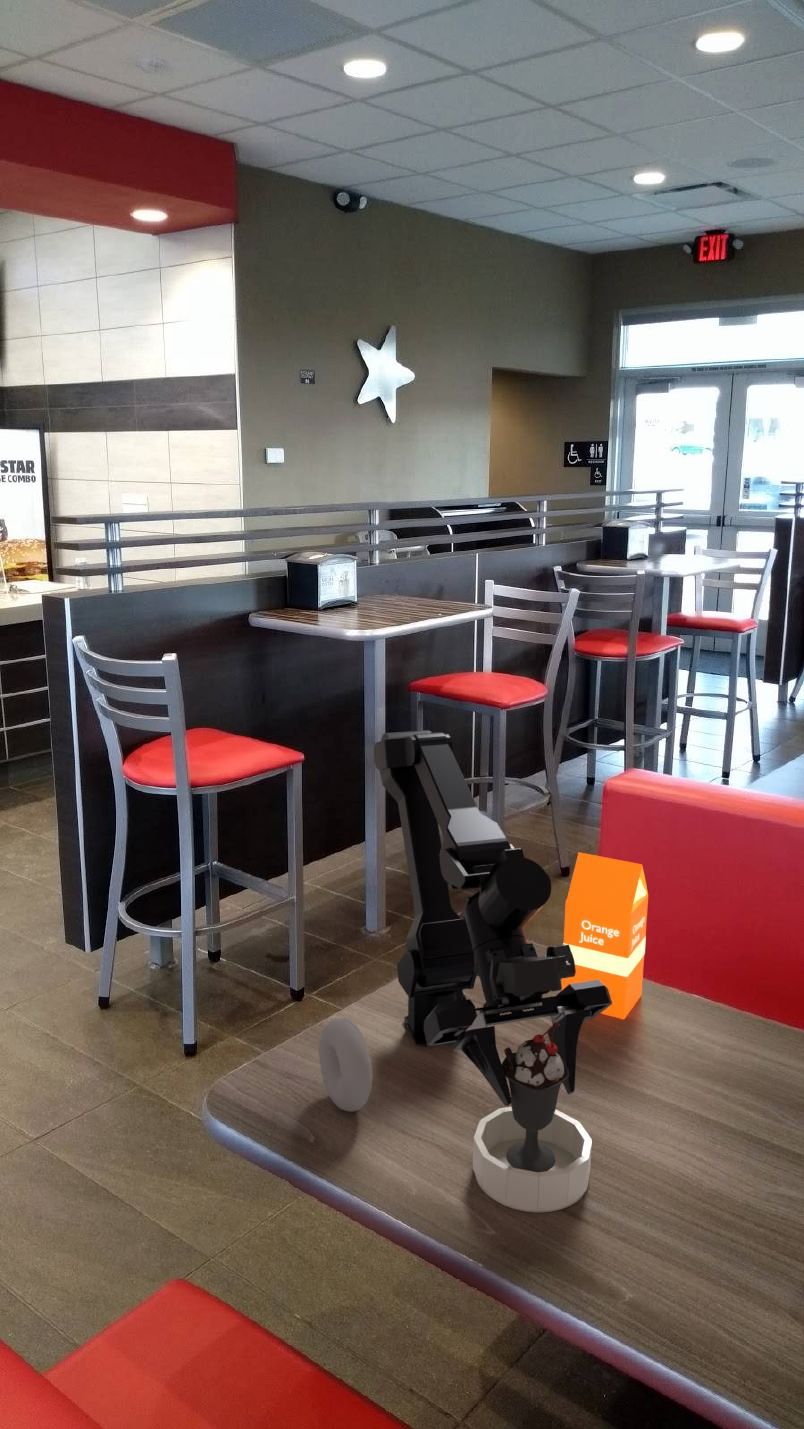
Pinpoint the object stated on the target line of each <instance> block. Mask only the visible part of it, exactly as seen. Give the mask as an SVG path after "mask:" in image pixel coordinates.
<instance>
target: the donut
mask: <svg viewBox="0 0 804 1429" xmlns="http://www.w3.org/2000/svg"><path fill="white" fill-rule="evenodd" d="M318 1045H319V1047H318V1054H319V1055H318V1056H319V1065H320V1071H321V1076H322V1081H323V1083H324V1087H325V1090H326V1092H327V1093H328V1095H329V1097H330V1099H331V1100H332V1102H333V1103H334V1105H336V1106H337V1107H338V1108H339V1109H340V1110H343V1111H346V1112H351V1113H352V1112H356V1111H359V1110H360V1109H361V1108H362V1107H363V1106H364V1105H366V1103H367V1102H368V1100H369V1098H370V1094H371V1092H372V1083H373V1070H372V1062H371V1056H370V1053H369V1052H370V1051H369V1049H368V1045H367V1043H366V1040H365V1038H364V1035H363V1034H362V1032H361V1030H360V1029H359V1027H358V1026H357V1025H356V1024H355V1023H353V1022H352V1021H351V1019H348V1018H344V1017H342V1018H341V1017H340V1018H339V1017H338V1018H333V1019H331V1020H330V1021H328V1022H327V1024H326V1025H325V1026H324V1027H323V1029H322V1030H321V1035H320V1039H319V1044H318Z"/></svg>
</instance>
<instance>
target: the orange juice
mask: <svg viewBox="0 0 804 1429" xmlns="http://www.w3.org/2000/svg"><path fill="white" fill-rule="evenodd" d="M577 853H578V854H577V857H576V862H575V865H574V870H573V873H572V877H571V882H570V886H569V889H568V894H567V897H566V900H565V907H564V908H565V909H564V910H565V912H564V928H563V929H564V931H563V943H562V945H564V944H566V945H569V946H570V949H571V952H572V955H573V958H574V961H575V968H576V974H575V976H574V977H569V978H562V979H561V985H562V990H563V989H564V988H565V987H566V986H568V985H569V984H573V983H579V982H586V981H592V980H600V981H601V982H602V983H603V984H604V985H605V986H606V987H607V988H608V990H609V994H610V997H611V1000H612V1003H613V1004H612V1005H610V1006H609V1007H608V1008H606V1009H605V1010H604V1011H602V1012H601V1013H600V1014H602V1015H605V1016H610V1017H613V1018H618V1019H621V1020H625V1019H626V1018H627V1016H628V1015H629V1013H630V1012H631V1011H632V1009H633V1008H634V1006H635V1005H636V1004H637V1002H638V1001H639V999H640V998H641V996H642V994H643V993H642V992H643V991H642V990H643V979H644V978H643V976H644V964H645V963H644V961H645V954H646V938H647V936H646V935H647V934H646V932H647V919H648V918H647V917H648V907H649V906H648V905H649V904H648V903H649V893H648V888H647V880H646V877H645V872H644V868H643V864H641V863H636V862H631V861H626V860H620V859H615V858H610V857H607V856H606V857H605V856H601V855H600V856H599V855H596V854H589V853H583V852H580V851H579V852H577ZM562 990H560V992H561V991H562Z"/></svg>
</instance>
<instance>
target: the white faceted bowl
mask: <svg viewBox="0 0 804 1429" xmlns="http://www.w3.org/2000/svg"><path fill="white" fill-rule="evenodd" d="M525 1139H526V1129H525V1128H523V1127H521V1126H520V1125H519V1124H518V1123H517V1122H516V1120H515V1119H514V1117H513V1112H512V1107H511V1106H508V1107H507V1106H505V1107H500V1108H498V1109H496V1110H494V1111H492V1112H491V1113H489V1114H488V1115H486V1116H484V1117H483V1118H482V1119H480V1120H479V1122H478V1125H477V1127H476V1130H475V1134H474V1136H473V1149H472V1151H473V1154H472V1170H473V1171H474V1178H475V1180H476V1183H477V1185H478V1187H479V1188H480V1189H481V1191H483V1192H484V1194H485V1195H487V1196H488V1197H489V1198H491V1199H492V1200H494V1201H495V1202H497V1203H499V1204H500V1205H503V1206H504V1207H507V1208H510V1209H512V1210H516V1211H521V1212H526V1213H536V1214H537V1213H551V1212H556V1211H557V1212H558V1211H561V1210H564V1209H566V1208H569V1207H571V1206H572V1205H574V1204H576V1203H577V1202H579V1200H581V1199H582V1198H583V1196H584V1195H585V1193H586V1191H587V1190H588V1186H589V1180H590V1179H589V1178H590V1173H591V1163H592V1162H591V1161H592V1159H591V1158H592V1146H593V1144H592V1143H593V1139H592V1138H591V1136H590V1135H589V1133H588V1132H587V1131H586V1129H585V1128H584V1126H583V1125H582V1123H581V1122H580V1121H578V1120H576V1119H575V1118H573V1117H570V1116H569V1115H567V1114H565V1113H563V1112H562V1111H560V1110H558V1109H557V1108H556V1109H555V1112H554V1116H553V1119H552V1121H551V1123H550V1124H549V1125H547V1126H546V1127H545V1128H543V1129H541V1130H538V1143H540V1144H542V1145H544V1146H546V1147H547V1148H549V1149H550V1150H551V1151H552V1152H553V1154H554V1155H555V1164H554V1166H553V1167H552V1168H551V1169H550V1170H548V1171H545V1172H533V1171H527V1170H522V1169H517V1168H513V1167H512V1166H511V1165H510V1164H509V1163H508V1161H507V1158H506V1153H507V1151H508V1149H509V1148H510V1147H511V1146H513V1145H515V1144H516V1143H519V1142H524V1141H525Z"/></svg>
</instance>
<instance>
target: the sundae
mask: <svg viewBox="0 0 804 1429" xmlns="http://www.w3.org/2000/svg"><path fill="white" fill-rule="evenodd" d="M554 1025H555V1028H554V1030H553V1032H552V1034H551V1043H550V1042H547V1043H546V1039H545V1037H544V1036H546V1035H548V1032H549V1031H550V1030H551V1028H552V1027H553V1026H554ZM559 1026H560V1023H556V1022H554V1023H553V1024H552V1025H551V1026H550V1027H549V1028H548V1029H549V1030H548V1029H547V1030H548V1031H546V1032H545V1033H543V1034H535V1035H534V1036H533V1037H532V1039H531V1038H530V1039H528V1040H524V1042H522V1043H521V1044H520V1045H519V1046H518V1047H517V1049H516V1052H513V1050H512V1049H511V1048H510V1046H508V1047H505V1049H504V1050H503V1051H504V1054H505V1056H506V1057H505V1058H504V1059H503V1061H501V1064H502V1067H503V1070H504V1074H505V1077H506V1079H507V1082H508V1087H509V1092H510V1097H511V1104H510V1107H512V1112H513V1117H514V1119H515V1120H516V1122H517V1123H518V1124H519V1125H520V1126H521V1127H523V1128H525V1129H526V1139H525V1141H524V1142H519V1143H516V1144H515V1145H513V1146H511V1147H510V1148H509V1149H508V1151H507V1153H506V1158H507V1161H508V1163H509V1164H510V1165H511V1166H512V1167H513V1168H517V1169H522V1170H527V1171H533V1172H545V1171H548V1170H550V1169H551V1168H552V1167H553V1166H554V1164H555V1155H554V1154H553V1152H552V1151H551V1150H550V1149H549V1148H547V1147H546V1146H544V1145H542V1144H540V1143H538V1130H541V1129H543V1128H545V1127H546V1126H547V1125H549V1124H550V1123H551V1121H552V1119H553V1116H554V1112H555V1109H556V1110H557V1103H558V1098H559V1093H560V1089H561V1085H562V1084H563V1082H564V1081H565V1080H566V1079H567V1078H568V1077H569V1070H568V1067H567V1066H566V1064H565V1063H564V1062H563V1061H562V1059H561V1058H560V1057H561V1056H559V1055H558V1054H557V1046H556V1045H555V1044H554V1043H553V1041H552V1036H553V1033H554V1031H555V1029H556V1028H557V1027H559Z"/></svg>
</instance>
